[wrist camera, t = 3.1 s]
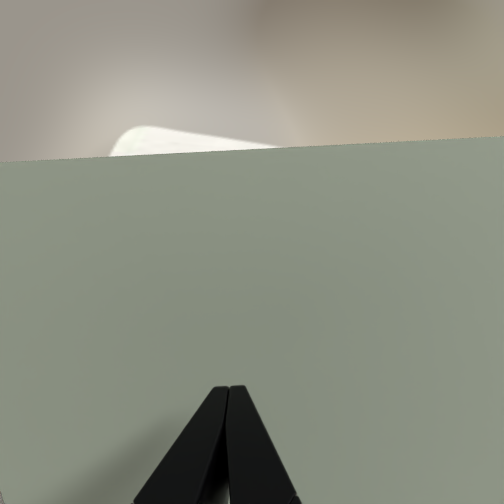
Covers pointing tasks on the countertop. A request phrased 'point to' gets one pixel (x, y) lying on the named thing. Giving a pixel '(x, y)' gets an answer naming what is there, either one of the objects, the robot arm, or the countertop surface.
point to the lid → (257, 317)
